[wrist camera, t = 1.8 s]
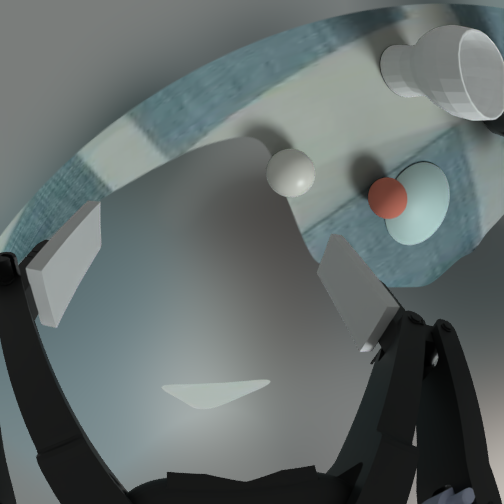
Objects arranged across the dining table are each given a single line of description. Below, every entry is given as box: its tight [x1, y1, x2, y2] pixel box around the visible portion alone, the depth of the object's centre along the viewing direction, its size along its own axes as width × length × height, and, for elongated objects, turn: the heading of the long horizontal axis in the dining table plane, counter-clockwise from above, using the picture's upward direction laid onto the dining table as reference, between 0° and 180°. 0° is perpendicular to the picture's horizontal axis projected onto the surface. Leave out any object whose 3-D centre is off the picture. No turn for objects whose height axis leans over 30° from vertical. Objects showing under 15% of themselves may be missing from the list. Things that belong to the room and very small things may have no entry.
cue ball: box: [266, 149, 315, 197], centre depth 30 cm, size 6×6×6 cm
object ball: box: [368, 177, 407, 219], centre depth 33 cm, size 6×6×6 cm
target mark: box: [385, 162, 450, 245], centre depth 38 cm, size 14×14×1 cm
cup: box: [380, 25, 504, 121], centre depth 21 cm, size 11×11×15 cm
